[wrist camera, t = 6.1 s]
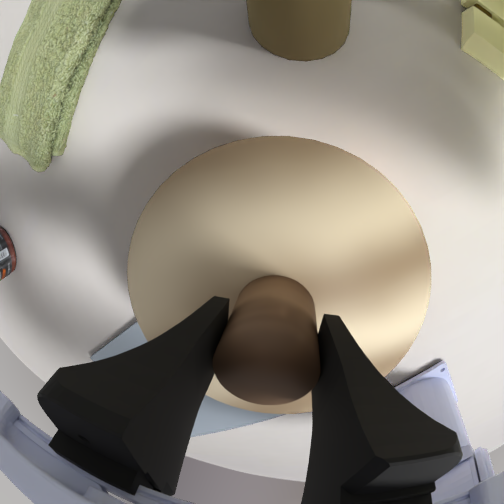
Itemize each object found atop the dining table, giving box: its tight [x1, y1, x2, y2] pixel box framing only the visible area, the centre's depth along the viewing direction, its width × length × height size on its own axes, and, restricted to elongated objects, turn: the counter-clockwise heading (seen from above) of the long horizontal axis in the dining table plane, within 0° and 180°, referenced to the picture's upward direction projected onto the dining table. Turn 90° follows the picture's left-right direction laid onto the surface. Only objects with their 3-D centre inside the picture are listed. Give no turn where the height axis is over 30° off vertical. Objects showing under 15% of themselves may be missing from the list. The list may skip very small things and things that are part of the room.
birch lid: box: [127, 136, 431, 414], centre depth 11 cm, size 15×15×5 cm
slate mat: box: [91, 322, 285, 437], centre depth 25 cm, size 16×16×1 cm
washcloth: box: [0, 0, 121, 172], centre depth 13 cm, size 13×18×3 cm
